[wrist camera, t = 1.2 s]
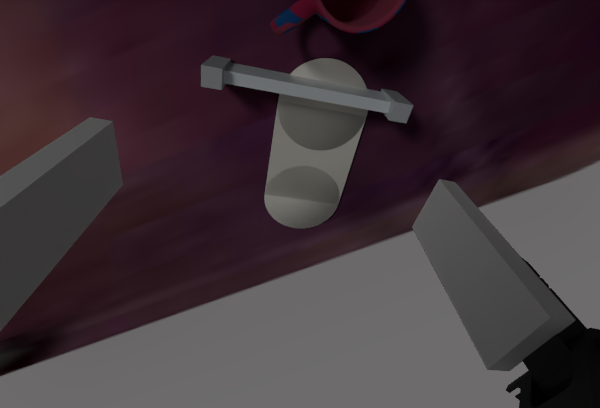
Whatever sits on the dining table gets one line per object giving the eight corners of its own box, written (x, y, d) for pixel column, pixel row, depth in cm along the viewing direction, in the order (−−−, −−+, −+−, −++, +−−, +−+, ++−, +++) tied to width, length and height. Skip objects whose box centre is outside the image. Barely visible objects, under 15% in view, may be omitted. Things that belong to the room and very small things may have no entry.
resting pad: (285, 48, 26) (285, 49, 26) (380, 68, 28) (381, 69, 27) (260, 222, 37) (260, 223, 37) (329, 230, 39) (329, 232, 38)
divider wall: (213, 55, 26) (201, 64, 23) (397, 91, 29) (413, 105, 25) (212, 74, 27) (200, 86, 24) (391, 107, 30) (406, 123, 26)
